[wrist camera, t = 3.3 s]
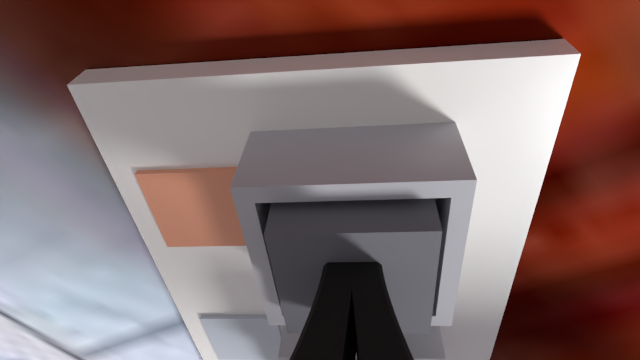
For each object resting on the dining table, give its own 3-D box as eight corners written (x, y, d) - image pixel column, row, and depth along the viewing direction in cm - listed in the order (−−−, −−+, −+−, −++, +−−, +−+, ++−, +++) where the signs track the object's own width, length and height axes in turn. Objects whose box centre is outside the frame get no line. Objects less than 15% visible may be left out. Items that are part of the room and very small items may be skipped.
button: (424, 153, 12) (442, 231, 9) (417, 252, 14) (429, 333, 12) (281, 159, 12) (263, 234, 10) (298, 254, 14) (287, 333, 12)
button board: (564, 38, 11) (637, 104, 8) (458, 433, 25) (471, 504, 23) (85, 69, 12) (6, 134, 9) (248, 427, 27) (236, 493, 24)
